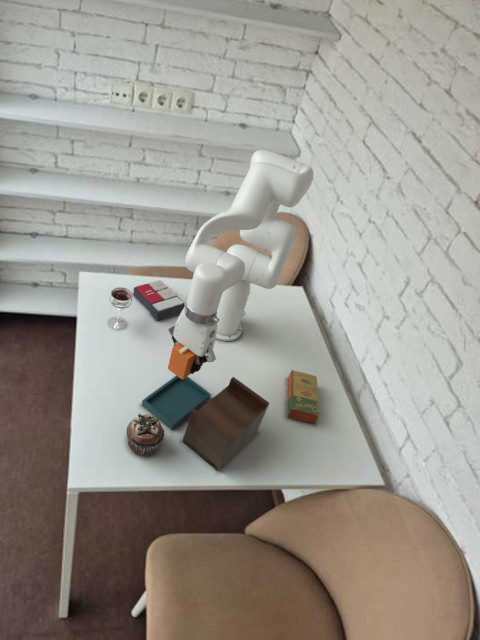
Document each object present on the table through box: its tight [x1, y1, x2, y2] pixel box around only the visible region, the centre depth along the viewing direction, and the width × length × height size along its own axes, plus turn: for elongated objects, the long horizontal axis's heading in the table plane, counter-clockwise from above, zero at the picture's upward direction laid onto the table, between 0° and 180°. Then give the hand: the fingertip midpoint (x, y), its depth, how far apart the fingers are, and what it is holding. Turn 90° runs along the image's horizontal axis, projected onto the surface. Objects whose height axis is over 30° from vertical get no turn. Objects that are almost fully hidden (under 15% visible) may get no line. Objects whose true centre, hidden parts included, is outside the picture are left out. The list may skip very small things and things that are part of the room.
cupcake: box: [125, 413, 165, 457], centre depth 134 cm, size 10×10×10 cm
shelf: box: [181, 376, 270, 472], centre depth 139 cm, size 18×12×12 cm, turn 140°
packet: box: [167, 343, 207, 380], centre depth 138 cm, size 8×5×8 cm, turn 140°
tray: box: [141, 375, 212, 431], centre depth 149 cm, size 17×11×2 cm
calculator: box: [132, 279, 186, 321], centre depth 180 cm, size 11×4×15 cm
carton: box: [286, 369, 320, 425], centre depth 158 cm, size 8×16×4 cm, turn 171°
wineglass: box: [109, 286, 134, 330], centre depth 166 cm, size 7×7×12 cm
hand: (186, 364), depth 140 cm, fingers closed on packet, 5 cm apart
